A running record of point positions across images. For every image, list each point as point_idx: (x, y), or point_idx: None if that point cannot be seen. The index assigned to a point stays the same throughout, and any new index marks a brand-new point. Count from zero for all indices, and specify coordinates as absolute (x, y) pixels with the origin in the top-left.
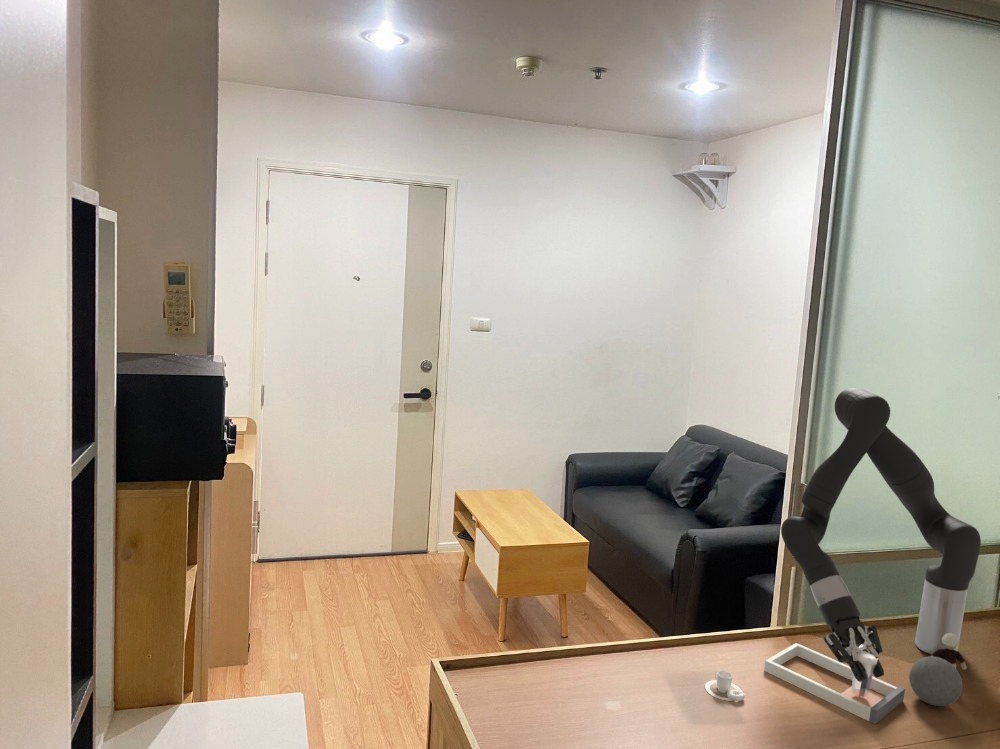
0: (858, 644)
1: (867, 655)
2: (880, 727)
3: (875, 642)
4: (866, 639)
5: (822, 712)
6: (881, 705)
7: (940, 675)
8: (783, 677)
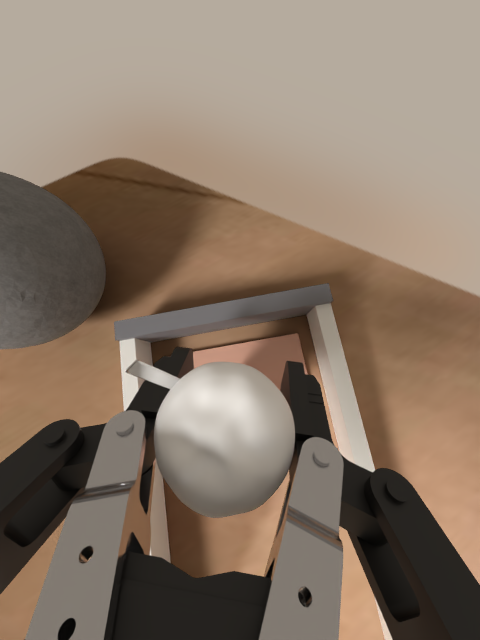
0: (177, 572)
1: (228, 425)
2: (313, 282)
3: (11, 505)
4: (87, 574)
5: (416, 403)
6: (286, 294)
7: (11, 190)
8: None
